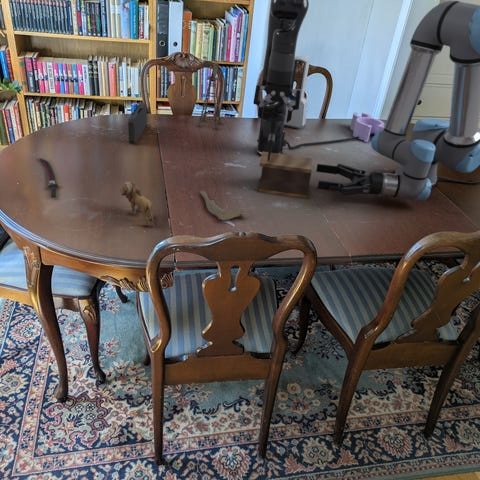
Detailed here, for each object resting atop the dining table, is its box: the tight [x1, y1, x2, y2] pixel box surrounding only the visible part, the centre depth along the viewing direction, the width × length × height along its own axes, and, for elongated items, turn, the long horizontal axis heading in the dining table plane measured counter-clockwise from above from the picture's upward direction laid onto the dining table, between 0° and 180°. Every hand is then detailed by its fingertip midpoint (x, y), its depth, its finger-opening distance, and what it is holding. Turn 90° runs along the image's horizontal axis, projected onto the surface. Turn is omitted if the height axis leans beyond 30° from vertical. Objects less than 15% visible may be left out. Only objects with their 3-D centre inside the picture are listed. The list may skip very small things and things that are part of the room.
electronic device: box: [284, 55, 311, 130], centre depth 209 cm, size 12×8×30 cm, turn 71°
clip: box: [349, 112, 385, 143], centre depth 214 cm, size 20×12×7 cm, turn 11°
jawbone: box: [199, 190, 251, 222], centre depth 143 cm, size 9×20×2 cm, turn 50°
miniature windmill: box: [198, 54, 222, 130], centre depth 199 cm, size 9×8×30 cm
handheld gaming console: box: [127, 102, 148, 144], centre depth 187 cm, size 23×3×10 cm, turn 178°
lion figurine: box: [119, 181, 159, 227], centre depth 134 cm, size 15×5×9 cm, turn 50°
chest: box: [258, 167, 312, 199], centre depth 158 cm, size 16×10×9 cm, turn 83°
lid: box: [259, 134, 313, 174], centre depth 154 cm, size 17×10×9 cm, turn 83°
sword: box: [40, 158, 59, 198], centre depth 151 cm, size 31×3×1 cm, turn 26°
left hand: (274, 119), depth 149 cm, fingers open, 8 cm apart
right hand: (317, 175), depth 156 cm, fingers open, 13 cm apart
